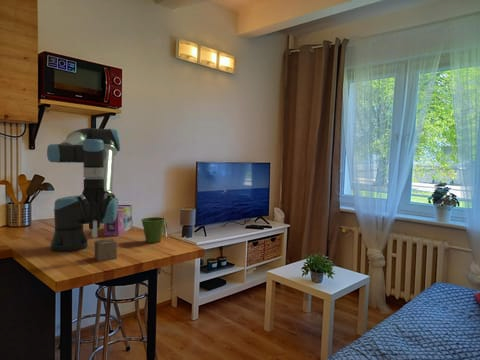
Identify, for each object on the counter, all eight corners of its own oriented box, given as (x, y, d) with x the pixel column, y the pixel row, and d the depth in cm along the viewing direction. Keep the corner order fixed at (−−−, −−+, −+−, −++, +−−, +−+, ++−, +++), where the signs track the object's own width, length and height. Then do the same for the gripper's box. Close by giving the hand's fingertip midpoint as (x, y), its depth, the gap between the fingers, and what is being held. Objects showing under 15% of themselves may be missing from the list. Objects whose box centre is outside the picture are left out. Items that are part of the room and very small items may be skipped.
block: (94, 240, 143) (111, 238, 147) (94, 257, 143) (112, 254, 147) (98, 244, 137) (116, 242, 141) (99, 261, 138) (116, 258, 142)
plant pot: (159, 237, 180) (159, 216, 179) (169, 242, 170) (169, 219, 169) (137, 240, 172) (137, 218, 172) (146, 245, 163) (146, 222, 162)
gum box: (117, 236, 180) (117, 211, 179) (102, 236, 180) (102, 210, 179) (132, 227, 204) (132, 204, 203) (118, 227, 204) (118, 204, 203)
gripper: (78, 179, 131) (79, 240, 132) (113, 178, 139) (113, 236, 140) (74, 178, 137) (74, 236, 139) (108, 177, 145) (108, 233, 146)
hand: (94, 236), depth 139 cm, fingers closed
